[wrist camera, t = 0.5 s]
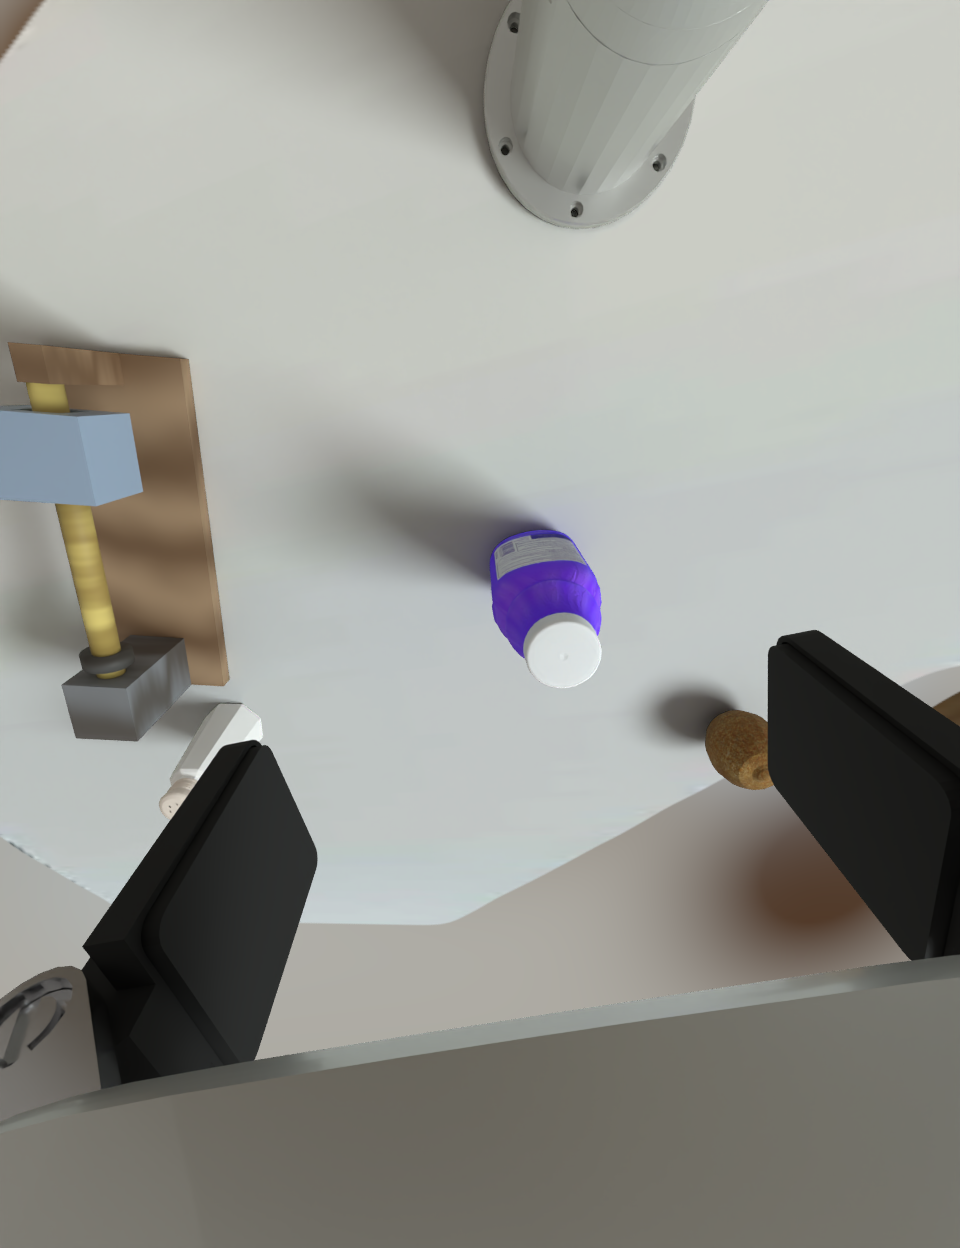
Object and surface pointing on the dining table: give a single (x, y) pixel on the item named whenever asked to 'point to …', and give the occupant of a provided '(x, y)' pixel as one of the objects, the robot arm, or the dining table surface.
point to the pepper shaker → (209, 749)
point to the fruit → (740, 748)
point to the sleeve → (67, 456)
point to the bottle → (547, 605)
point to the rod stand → (136, 543)
